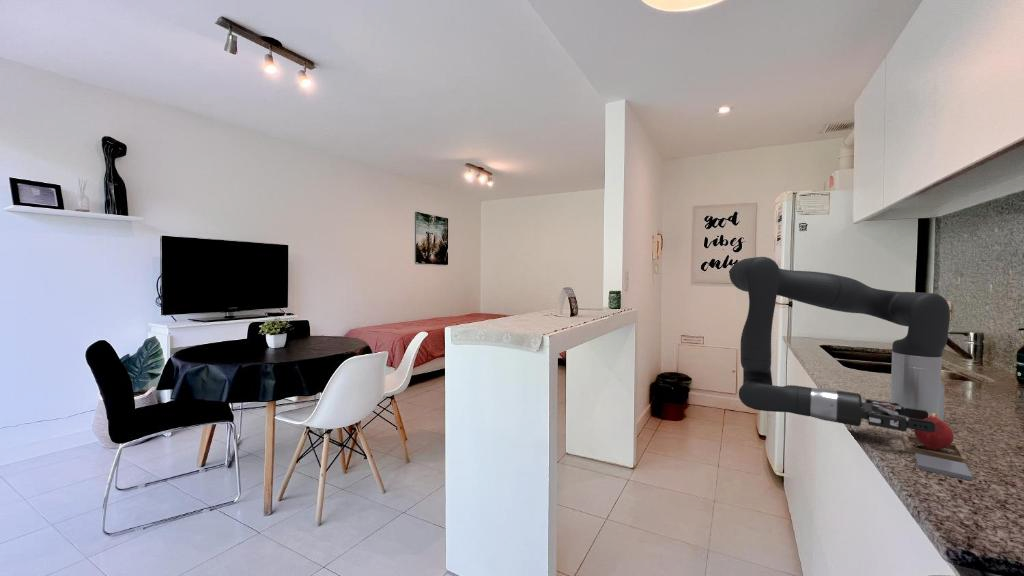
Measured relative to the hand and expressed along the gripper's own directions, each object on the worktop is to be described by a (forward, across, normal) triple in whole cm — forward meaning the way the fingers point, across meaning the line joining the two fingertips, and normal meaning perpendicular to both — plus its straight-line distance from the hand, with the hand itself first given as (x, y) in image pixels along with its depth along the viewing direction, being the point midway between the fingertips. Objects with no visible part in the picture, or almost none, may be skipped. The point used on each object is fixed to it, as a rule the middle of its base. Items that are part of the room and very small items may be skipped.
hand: (931, 421), depth 87 cm
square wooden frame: (0, 0, +6) cm, 6 cm away
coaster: (0, -10, +6) cm, 12 cm away
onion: (0, 0, +6) cm, 7 cm away
